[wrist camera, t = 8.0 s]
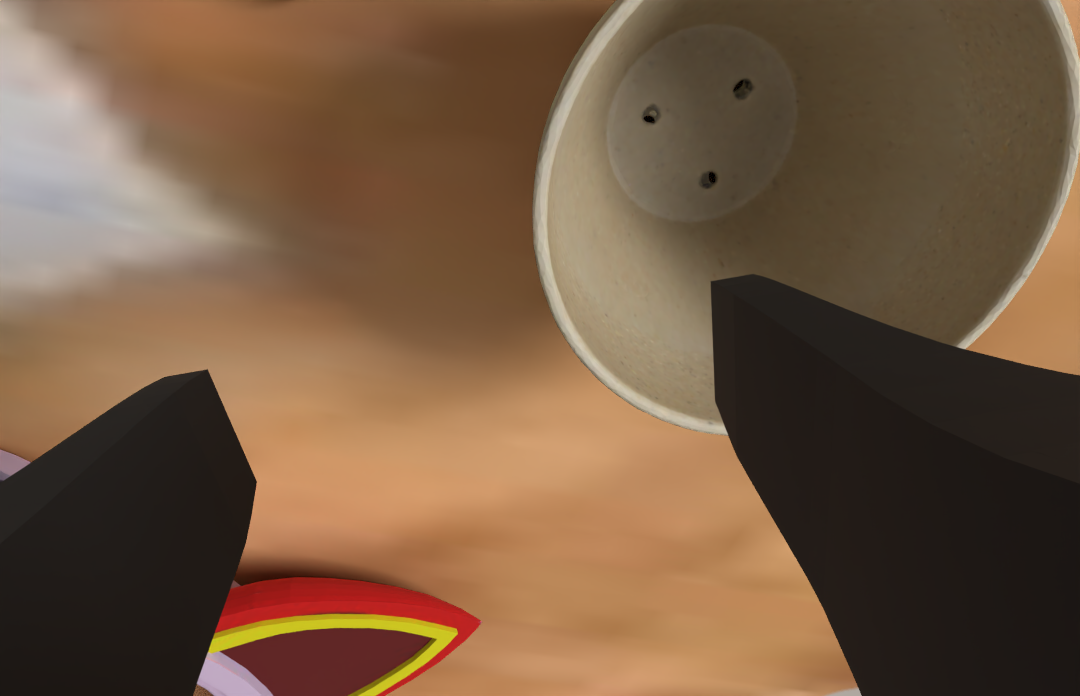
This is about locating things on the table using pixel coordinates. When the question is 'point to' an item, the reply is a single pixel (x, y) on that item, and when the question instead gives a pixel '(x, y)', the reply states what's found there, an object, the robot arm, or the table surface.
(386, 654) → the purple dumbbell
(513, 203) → the table surface
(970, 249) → the flower pot
